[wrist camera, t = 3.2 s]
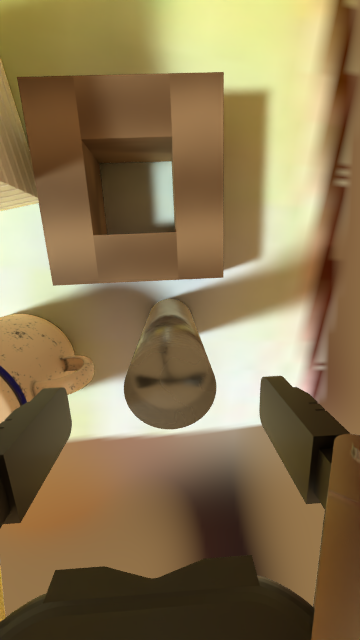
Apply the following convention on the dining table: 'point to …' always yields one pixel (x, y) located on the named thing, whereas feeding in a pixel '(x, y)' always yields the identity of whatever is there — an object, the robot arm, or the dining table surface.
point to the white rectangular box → (13, 154)
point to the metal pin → (170, 370)
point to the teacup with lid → (36, 361)
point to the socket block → (124, 147)
